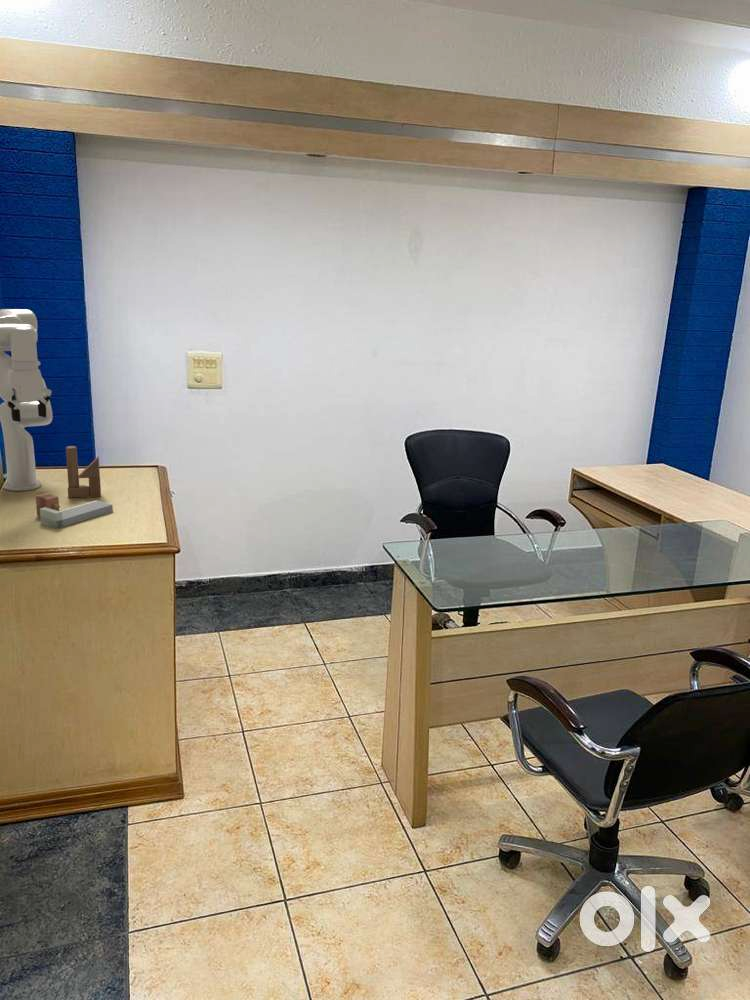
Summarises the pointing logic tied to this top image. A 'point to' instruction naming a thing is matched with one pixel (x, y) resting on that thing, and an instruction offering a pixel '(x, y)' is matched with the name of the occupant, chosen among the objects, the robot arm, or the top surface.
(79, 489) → the brown forked upright piece
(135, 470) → the top surface
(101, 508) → the grey board
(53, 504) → the brown block
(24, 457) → the robot arm
